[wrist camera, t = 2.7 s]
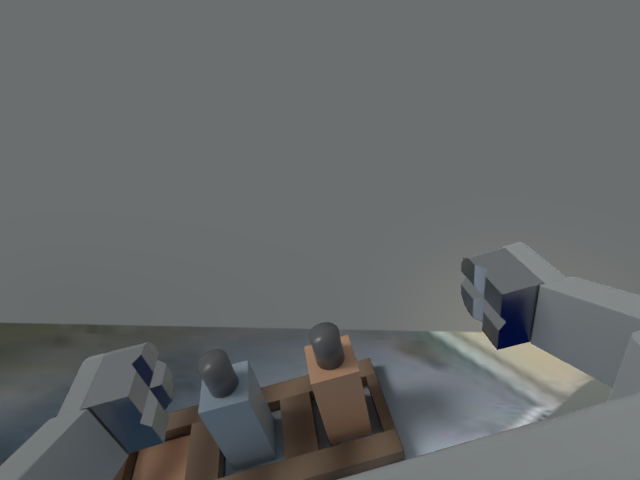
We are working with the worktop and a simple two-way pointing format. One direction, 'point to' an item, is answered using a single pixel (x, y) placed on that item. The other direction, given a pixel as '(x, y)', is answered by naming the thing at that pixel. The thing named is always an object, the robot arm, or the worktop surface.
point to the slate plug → (235, 411)
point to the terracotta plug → (336, 384)
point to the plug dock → (291, 442)
